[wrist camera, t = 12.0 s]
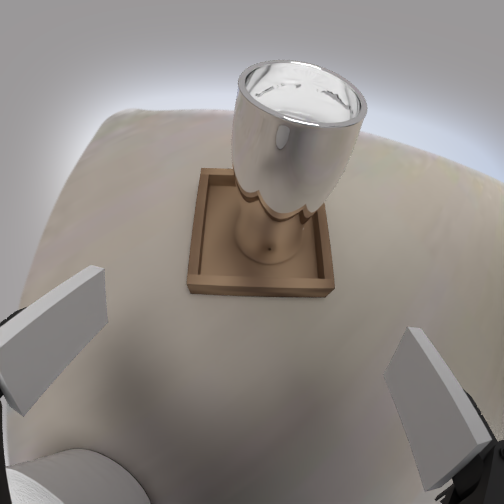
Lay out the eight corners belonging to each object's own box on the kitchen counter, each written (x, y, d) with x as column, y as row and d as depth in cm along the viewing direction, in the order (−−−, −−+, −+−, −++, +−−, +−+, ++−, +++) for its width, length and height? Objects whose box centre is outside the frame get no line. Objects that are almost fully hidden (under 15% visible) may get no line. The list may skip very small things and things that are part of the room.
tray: (313, 190, 29) (319, 175, 27) (325, 297, 24) (334, 288, 22) (203, 184, 28) (201, 168, 26) (190, 293, 23) (186, 284, 21)
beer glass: (241, 278, 23) (260, 136, 10) (221, 210, 26) (219, 61, 13) (317, 258, 25) (397, 128, 11) (290, 196, 27) (330, 59, 14)
